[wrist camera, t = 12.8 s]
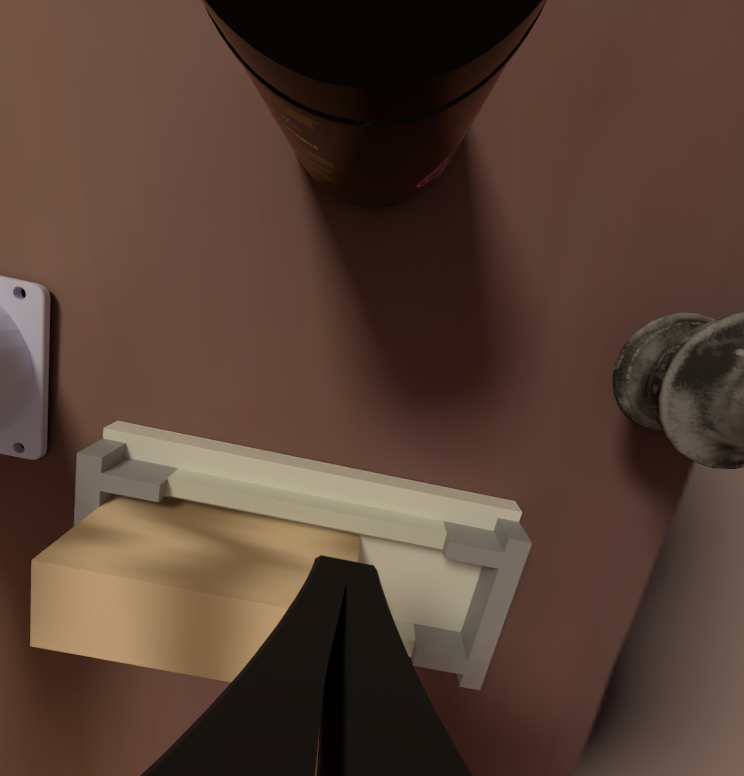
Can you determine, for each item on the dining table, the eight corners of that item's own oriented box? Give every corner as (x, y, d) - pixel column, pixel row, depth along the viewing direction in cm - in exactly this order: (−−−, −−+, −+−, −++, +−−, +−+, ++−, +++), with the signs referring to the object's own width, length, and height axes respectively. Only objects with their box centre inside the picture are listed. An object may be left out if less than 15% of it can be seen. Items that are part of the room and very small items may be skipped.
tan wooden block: (117, 555, 19) (30, 646, 14) (122, 488, 18) (31, 560, 14) (344, 598, 20) (334, 700, 15) (359, 534, 19) (354, 620, 14)
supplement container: (401, 246, 17) (441, 179, 7) (257, 151, 16) (50, -89, 6) (497, 85, 15) (735, -311, 5) (344, -27, 15) (272, -752, 4)
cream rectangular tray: (106, 583, 21) (69, 624, 18) (117, 420, 19) (77, 441, 16) (465, 650, 22) (477, 698, 19) (514, 501, 19) (535, 533, 17)
